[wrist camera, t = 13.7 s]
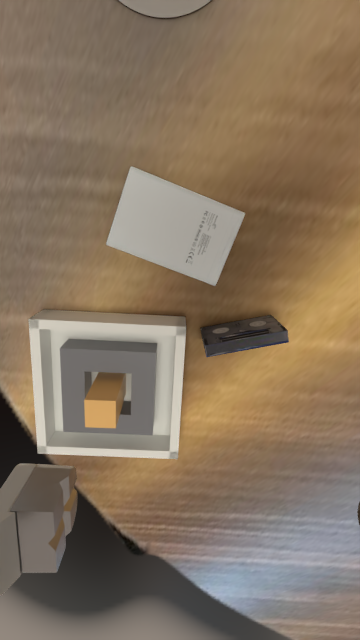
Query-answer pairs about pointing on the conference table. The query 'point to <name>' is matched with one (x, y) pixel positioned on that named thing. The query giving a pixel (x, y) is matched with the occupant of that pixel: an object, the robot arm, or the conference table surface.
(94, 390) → the tan rectangular block
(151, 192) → the external hard drive
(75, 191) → the conference table surface
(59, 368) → the walled box
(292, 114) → the conference table surface
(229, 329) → the mini dv tape
